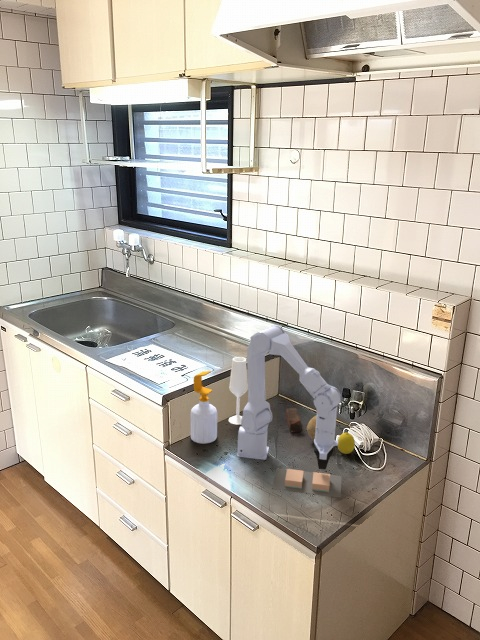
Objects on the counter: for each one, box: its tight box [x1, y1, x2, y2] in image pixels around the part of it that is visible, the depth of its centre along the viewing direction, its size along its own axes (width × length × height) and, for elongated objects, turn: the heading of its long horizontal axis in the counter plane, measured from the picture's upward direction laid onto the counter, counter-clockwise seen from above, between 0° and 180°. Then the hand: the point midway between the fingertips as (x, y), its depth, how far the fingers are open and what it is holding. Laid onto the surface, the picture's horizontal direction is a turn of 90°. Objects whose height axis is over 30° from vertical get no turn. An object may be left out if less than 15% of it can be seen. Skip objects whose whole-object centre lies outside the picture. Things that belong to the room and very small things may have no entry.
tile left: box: [285, 468, 305, 489], centre depth 167 cm, size 5×2×6 cm
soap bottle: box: [190, 370, 218, 445], centre depth 188 cm, size 9×9×25 cm
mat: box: [272, 467, 342, 498], centre depth 167 cm, size 20×11×1 cm, turn 79°
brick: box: [285, 407, 302, 433], centre depth 201 cm, size 11×4×5 cm, turn 4°
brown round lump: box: [306, 414, 317, 441], centre depth 190 cm, size 9×9×10 cm
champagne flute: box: [228, 356, 248, 425], centre depth 201 cm, size 7×7×24 cm
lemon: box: [337, 432, 356, 455], centre depth 183 cm, size 6×6×8 cm
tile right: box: [312, 471, 331, 492], centre depth 166 cm, size 5×2×6 cm
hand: (322, 467), depth 168 cm, fingers closed
